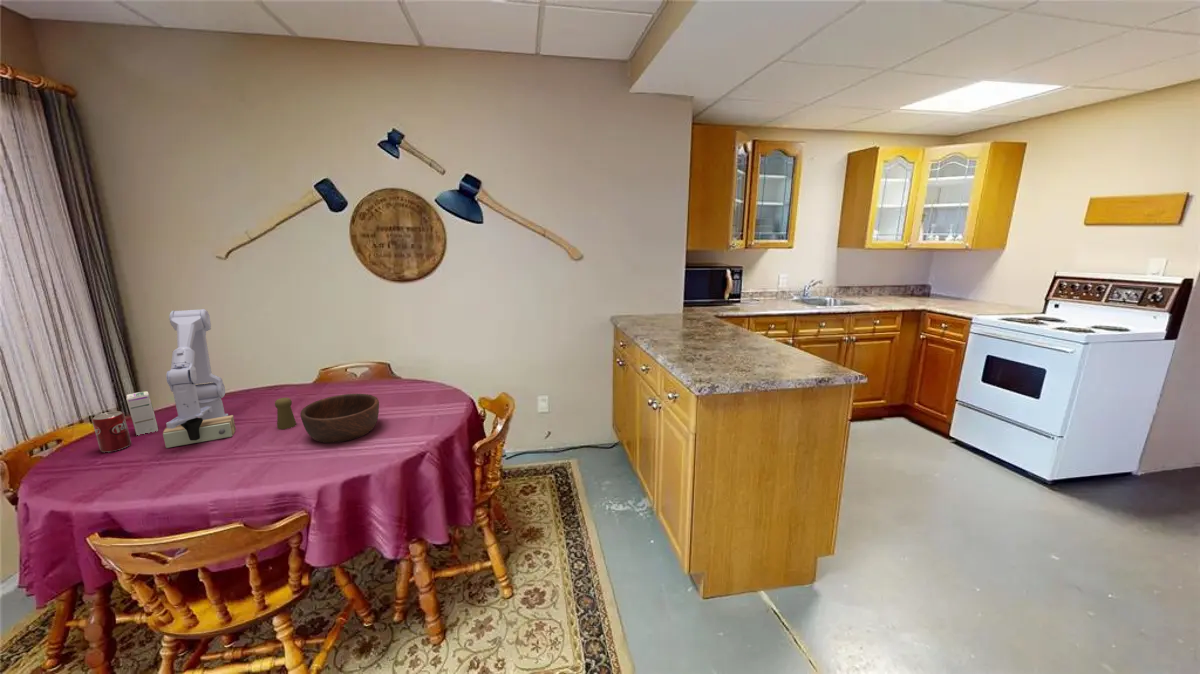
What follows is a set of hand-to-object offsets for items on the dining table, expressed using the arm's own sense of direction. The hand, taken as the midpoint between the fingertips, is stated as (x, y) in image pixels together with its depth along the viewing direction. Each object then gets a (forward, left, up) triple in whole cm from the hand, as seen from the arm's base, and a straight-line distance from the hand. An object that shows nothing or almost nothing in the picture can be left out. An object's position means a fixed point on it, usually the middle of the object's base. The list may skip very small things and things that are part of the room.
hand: (195, 439), depth 154 cm
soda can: (-11, -22, -2) cm, 25 cm away
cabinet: (-6, +1, -2) cm, 7 cm away
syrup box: (-23, -17, -2) cm, 29 cm away
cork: (-2, +26, -2) cm, 26 cm away
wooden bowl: (+14, +44, -3) cm, 46 cm away
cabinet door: (-1, +1, -2) cm, 2 cm away
